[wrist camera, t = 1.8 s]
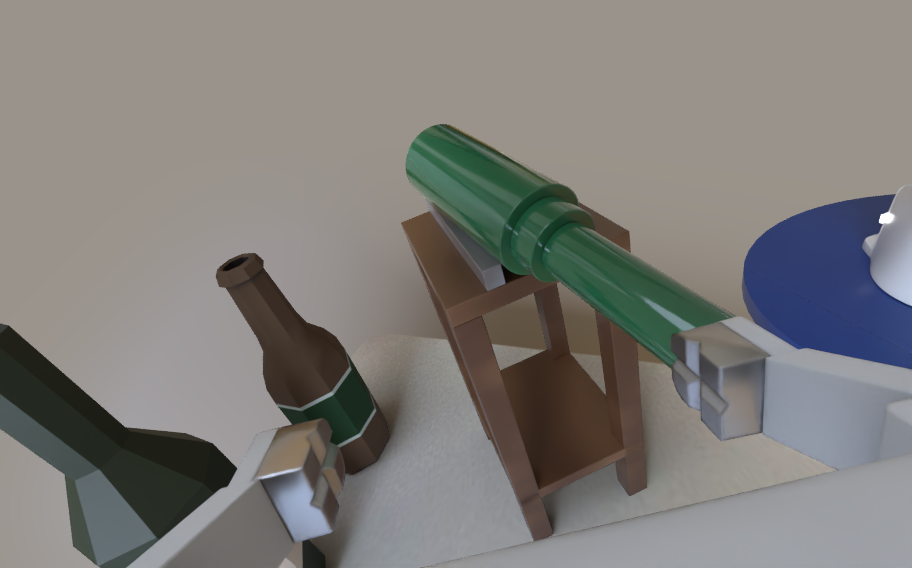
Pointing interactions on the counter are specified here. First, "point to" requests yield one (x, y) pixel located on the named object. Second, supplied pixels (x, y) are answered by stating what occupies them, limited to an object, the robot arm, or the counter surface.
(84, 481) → the wine bottle
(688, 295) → the green bottle
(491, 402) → the bottle rack
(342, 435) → the beer bottle
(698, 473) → the counter surface
